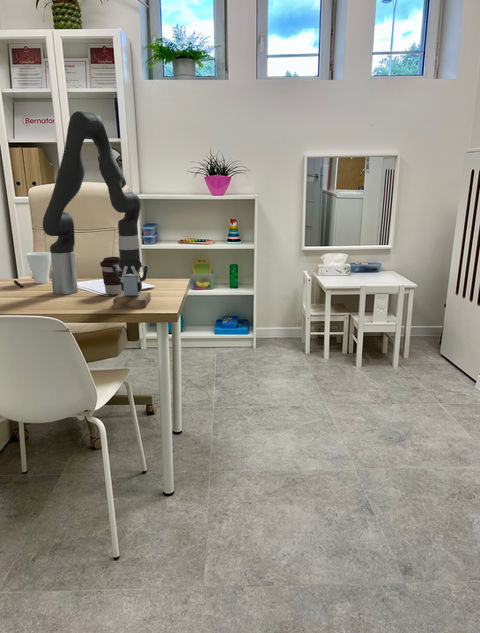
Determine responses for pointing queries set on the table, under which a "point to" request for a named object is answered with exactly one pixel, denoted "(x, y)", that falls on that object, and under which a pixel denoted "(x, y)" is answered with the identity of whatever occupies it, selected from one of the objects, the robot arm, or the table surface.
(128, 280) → the block
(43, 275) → the cup
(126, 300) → the base
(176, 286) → the table surface
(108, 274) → the coffee cup
